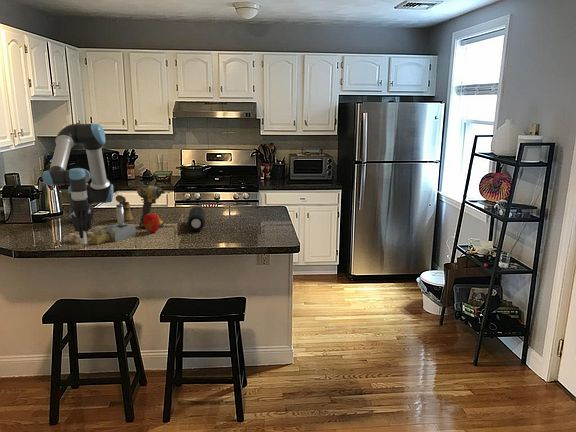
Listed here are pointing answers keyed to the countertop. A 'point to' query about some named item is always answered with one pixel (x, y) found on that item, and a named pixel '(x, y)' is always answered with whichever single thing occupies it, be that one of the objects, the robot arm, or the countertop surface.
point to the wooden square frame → (76, 238)
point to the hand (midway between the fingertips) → (84, 243)
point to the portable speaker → (196, 219)
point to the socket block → (120, 231)
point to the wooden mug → (125, 207)
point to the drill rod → (120, 215)
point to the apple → (151, 222)
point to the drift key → (100, 238)
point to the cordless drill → (149, 200)
